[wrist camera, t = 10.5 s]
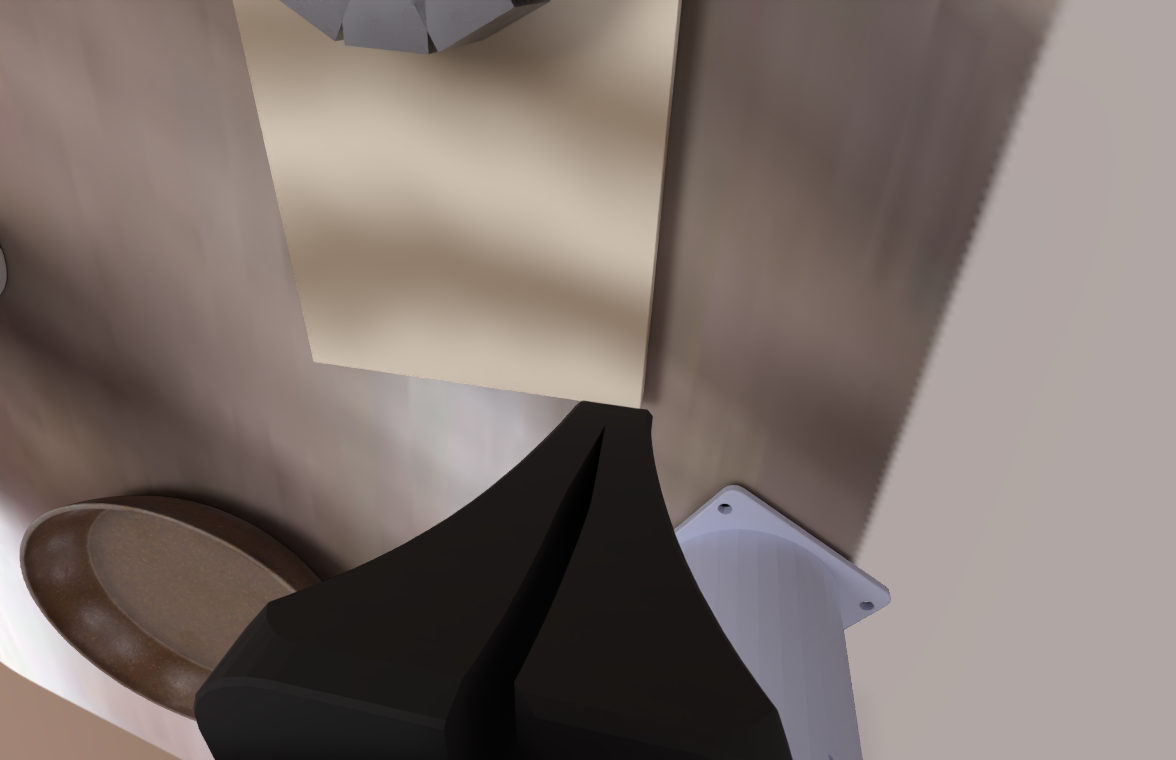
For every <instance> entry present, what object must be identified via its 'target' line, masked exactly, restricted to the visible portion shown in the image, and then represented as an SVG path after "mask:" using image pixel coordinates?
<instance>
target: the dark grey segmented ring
mask: <svg viewBox="0 0 1176 760" xmlns="http://www.w3.org/2000/svg"><path fill="white" fill-rule="evenodd" d="M279 1H281V2H282V3H284V4H285V5H286V6H288V7H289V8H290V9H292V10H293V11H294V12H296V13H297V14H298V15H300V16H301V17H303V18H304V19H305V20H307V21H308V22H309V23H311V24H312V25H313V26H315V27H316V28H317V29H319V30H320V31H321V32H323V33H324V34H326V35H327V36H328V37H330V38H331V39H332V40H334V41H340V40H344V43H345V46H354V47H364V48H373V49H382V50H392V51H401V52H410V53H420V54H432V53H436V52H441V51H445V50H449V49H453V48H456V47H460V46H464V45H467V44H471V43H475V42H478V41H482V40H485V39H487V38H488V37H490V36H492V35H493V34H495V33H497V32H499V31H500V30H502V29H504V28H505V27H507V26H509V25H511V24H512V23H514V22H516V21H518V20H519V19H521V18H523V17H524V16H526V15H528V14H530V13H531V12H533V11H535V10H536V9H538V8H540V7H542V6H543V5H545V4H547V3H549V2H550V0H279Z"/></svg>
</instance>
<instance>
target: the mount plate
mask: <svg viewBox="0 0 1176 760" xmlns="http://www.w3.org/2000/svg"><path fill="white" fill-rule="evenodd" d="M233 4H234V9H235V13H236V18H237V22H238V27H239V31H240V35H241V40H242V44H243V49H244V53H245V58H246V62H247V67H248V71H249V76H250V80H251V84H252V89H253V93H254V98H255V102H256V107H257V111H258V116H259V120H260V125H261V129H262V133H263V138H264V142H265V147H266V151H267V156H268V160H269V165H270V169H271V174H272V178H273V182H274V187H275V191H276V196H277V200H278V205H279V209H280V214H281V218H282V223H283V227H284V231H285V236H286V240H287V245H288V249H289V254H290V258H291V263H292V267H293V272H294V276H295V281H296V285H297V289H298V294H299V298H300V303H301V307H302V312H303V316H304V321H305V325H306V330H307V334H308V338H309V343H310V347H311V352H312V356H313V361H314V362H319V363H326V364H333V365H339V366H346V367H353V368H360V369H367V370H374V371H380V372H387V373H394V374H401V375H408V376H415V377H421V378H428V379H435V380H442V381H449V382H455V383H462V384H469V385H476V386H483V387H490V388H496V389H503V390H510V391H517V392H524V393H531V394H537V395H544V396H551V397H558V398H565V399H572V400H578V401H583V400H584V401H591V402H597V403H604V404H611V405H618V406H625V407H632V408H638V409H640V406H641V402H642V398H643V394H644V385H645V375H646V364H647V354H648V344H649V333H650V323H651V313H652V303H653V292H654V282H655V272H656V261H657V251H658V241H659V231H660V220H661V210H662V200H663V189H664V179H665V169H666V159H667V148H668V138H669V128H670V117H671V107H672V97H673V87H674V76H675V66H676V56H677V45H678V35H679V25H680V15H681V4H682V0H550V2H549V3H547V4H545V5H543V6H542V7H540V8H538V9H536V10H535V11H533V12H531V13H530V14H528V15H526V16H524V17H523V18H521V19H519V20H518V21H516V22H514V23H512V24H511V25H509V26H507V27H505V28H504V29H502V30H500V31H499V32H497V33H495V34H493V35H492V36H490V37H488V38H487V39H485V40H482V41H478V42H475V43H471V44H467V45H464V46H460V47H456V48H453V49H449V50H445V51H441V52H436V53H432V54H420V53H410V52H401V51H392V50H382V49H373V48H364V47H354V46H345V43H344V40H340V41H334V40H332V39H331V38H330V37H328V36H327V35H326V34H324V33H323V32H321V31H320V30H319V29H317V28H316V27H315V26H313V25H312V24H311V23H309V22H308V21H307V20H305V19H304V18H303V17H301V16H300V15H298V14H297V13H296V12H294V11H293V10H292V9H290V8H289V7H288V6H286V5H285V4H284V3H282V2H281V1H279V0H233Z"/></svg>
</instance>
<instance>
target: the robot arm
mask: <svg viewBox="0 0 1176 760" xmlns="http://www.w3.org/2000/svg"><path fill="white" fill-rule="evenodd" d="M652 419H653V416H652V415H651V413H650V412H649V411H648V410H645V409H638V408H632V407H625V406H618V405H611V404H604V403H597V402H591V401H584V400H583V401H581V402H580V403H578V404H577V405H576V406H575V407H574V408H573V409H572V411H571V412H570V413H569V414H568V415H567V416H566V417H565V418H564V419H563V420H562V422H561V423H560V424H559V425H558V426H557V427H556V428H555V429H554V430H553V431H552V432H551V433H550V434H549V435H548V436H547V437H546V438H545V439H544V440H543V441H542V442H541V443H540V444H539V445H538V446H537V447H536V448H535V449H534V450H533V451H532V452H530V453H529V454H528V455H527V456H526V457H525V458H524V459H523V460H522V461H521V462H520V463H519V464H518V465H516V466H515V467H514V468H513V469H512V470H510V471H509V472H508V473H507V474H506V475H504V476H503V477H502V478H501V479H500V480H498V481H497V482H496V483H495V484H494V485H492V486H491V487H490V488H489V489H487V490H486V491H485V492H484V493H482V494H481V495H480V496H478V497H477V498H476V499H474V500H473V501H472V502H470V503H469V504H467V505H466V506H464V507H463V508H462V509H460V510H459V511H457V512H456V513H454V514H453V515H451V516H450V517H448V518H447V519H445V520H444V521H442V522H440V523H439V524H437V525H436V526H434V527H432V528H431V529H429V530H427V531H426V532H424V533H422V534H420V535H419V536H417V537H415V538H413V539H412V540H410V541H408V542H407V543H405V544H403V545H401V546H399V547H397V548H395V549H393V550H391V551H389V552H387V553H385V554H383V555H381V556H379V557H377V558H375V559H373V560H371V561H369V562H367V563H365V564H362V565H360V566H358V567H356V568H354V569H352V570H349V571H347V572H345V573H342V574H340V575H338V576H335V577H333V578H331V579H328V580H325V581H323V582H320V583H318V584H315V585H312V586H310V587H307V588H305V589H302V590H299V591H297V592H294V593H292V594H289V595H286V596H284V597H281V598H278V599H275V600H272V601H270V602H268V603H267V604H266V606H265V607H264V608H263V609H262V610H261V611H260V612H259V614H258V615H257V616H256V617H255V618H254V619H253V620H252V621H251V622H250V623H249V625H248V626H247V627H246V628H245V629H244V631H243V632H242V633H241V635H240V636H239V637H238V638H237V640H236V641H235V642H234V644H233V645H232V646H231V648H230V649H229V650H228V652H227V653H226V654H225V656H224V657H223V658H222V660H221V661H220V662H219V664H218V665H217V666H216V668H215V669H214V670H213V672H212V673H211V674H210V676H209V677H208V678H207V679H206V681H205V682H204V683H203V685H202V686H201V687H200V689H199V690H198V691H197V693H196V694H195V700H194V707H193V708H194V714H195V718H196V721H197V724H198V727H199V730H200V732H201V734H202V736H203V738H204V739H205V741H206V743H207V745H208V747H209V749H210V751H211V753H212V755H213V757H214V759H215V760H863V759H862V753H861V746H860V739H859V732H858V725H857V718H856V711H855V704H854V698H853V690H852V684H851V677H850V670H849V663H848V656H847V649H846V642H845V636H844V630H845V629H846V628H848V627H850V626H852V625H853V624H855V623H857V622H859V621H860V620H862V619H863V618H866V617H867V616H869V615H871V614H872V613H874V612H876V611H878V610H879V609H881V608H883V607H885V606H886V605H888V604H889V603H890V600H891V598H890V593H889V590H888V588H887V587H886V586H884V585H883V584H881V583H880V582H878V581H877V580H875V579H874V578H872V577H871V576H870V575H868V574H867V573H865V572H864V571H863V570H861V569H859V568H858V567H857V566H855V565H854V564H852V563H851V562H850V561H848V560H847V559H845V558H844V557H842V556H841V555H839V554H838V553H837V552H835V551H834V550H832V549H831V548H829V547H828V546H827V545H825V544H824V543H822V542H821V541H819V540H818V539H816V538H815V537H814V536H812V535H811V534H809V533H808V532H806V531H805V530H803V529H802V528H801V527H799V526H798V525H796V524H795V523H793V522H792V521H790V520H789V519H788V518H786V517H785V516H783V515H782V514H780V513H779V512H778V511H776V510H775V509H773V508H772V507H770V506H769V505H767V504H766V503H765V502H763V501H762V500H760V499H759V498H757V497H756V496H754V495H753V494H752V493H750V492H749V491H747V490H746V489H744V488H743V487H741V486H738V485H729V486H726V487H725V488H723V489H722V490H721V491H720V492H718V493H717V494H716V495H715V496H714V497H712V498H711V499H710V500H709V501H708V502H706V503H705V504H704V505H703V506H702V507H700V508H699V509H698V510H697V511H696V512H694V513H693V514H692V515H691V516H690V517H688V518H687V519H686V520H685V521H684V522H682V523H681V524H680V525H679V526H678V527H676V528H675V529H673V526H672V524H671V521H670V518H669V515H668V511H667V508H666V505H665V502H664V499H663V495H662V492H661V488H660V483H659V479H658V475H657V471H656V467H655V461H654V456H653V448H652V439H651V428H652ZM721 504H728V505H730V506H729V507H723V506H720V505H721ZM864 601H869V602H864Z"/></svg>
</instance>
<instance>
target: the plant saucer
mask: <svg viewBox="0 0 1176 760" xmlns="http://www.w3.org/2000/svg"><path fill="white" fill-rule="evenodd" d="M20 567H21V570H22V575H23V579H24V581H25V583H26V586H27V588H28V590H29V592H30V595H31V596H32V598H33V600H34V601H35V603H36V605H37V606H38V607H39V608H40V610H41V612H42V613H43V614H44V616H45V617H46V618H47V620H48V621H49V622H50V623H51V624H52V626H53V627H54V628H55V629H56V630H57V631H58V633H59V634H60V635H61V636H62V637H63V638H64V639H65V640H66V641H67V642H68V643H69V644H70V645H71V646H72V647H74V648H75V649H76V650H77V651H78V652H79V653H80V654H81V655H83V656H84V657H85V658H86V659H87V660H89V661H90V662H91V663H92V664H93V665H95V666H96V667H97V668H99V669H100V670H101V671H103V672H104V673H105V674H107V675H108V676H110V677H111V678H113V679H114V680H116V681H117V682H118V683H120V684H121V685H123V686H124V687H126V688H128V689H130V690H132V691H133V692H135V693H136V694H138V695H140V696H142V697H144V698H145V699H147V700H149V701H151V702H153V703H155V704H157V705H159V706H161V707H163V708H166V709H168V710H170V711H172V712H175V713H177V714H179V715H182V716H184V717H187V718H189V719H192V720H194V721H196V718H195V714H194V708H193V707H194V700H195V694H196V693H197V691H198V690H199V689H200V687H201V686H202V685H203V683H204V682H205V681H206V679H207V678H208V677H209V676H210V674H211V673H212V672H213V670H214V669H215V668H216V666H217V665H218V664H219V662H220V661H221V660H222V658H223V657H224V656H225V654H226V653H227V652H228V650H229V649H230V648H231V646H232V645H233V644H234V642H235V641H236V640H237V638H238V637H239V636H240V635H241V633H242V632H243V631H244V629H245V628H246V627H247V626H248V625H249V623H250V622H251V621H252V620H253V619H254V618H255V617H256V616H257V615H258V614H259V612H260V611H261V610H262V609H263V608H264V607H265V606H266V604H267V603H268V602H270V601H272V600H275V599H278V598H281V597H284V596H286V595H289V594H292V593H294V592H297V591H299V590H302V589H305V588H307V587H310V586H312V585H315V584H318V583H320V582H321V580H320V579H319V578H318V577H317V576H316V575H315V574H314V573H313V571H312V570H311V569H310V568H309V567H308V566H307V565H306V564H305V563H304V562H303V561H302V560H301V559H300V558H298V557H297V556H296V555H295V554H294V553H293V552H292V551H290V550H289V549H288V548H286V547H285V546H284V545H283V544H281V543H280V542H278V541H277V540H276V539H274V538H273V537H271V536H270V535H268V534H267V533H265V532H264V531H262V530H260V529H258V528H257V527H255V526H253V525H252V524H250V523H248V522H246V521H244V520H242V519H240V518H238V517H236V516H233V515H231V514H229V513H227V512H224V511H222V510H219V509H216V508H213V507H210V506H207V505H204V504H200V503H197V502H193V501H188V500H184V499H179V498H172V497H163V496H117V497H107V498H100V499H93V500H87V501H83V502H78V503H74V504H71V505H67V506H64V507H60V508H57V509H54V510H51V511H49V512H47V513H45V514H43V515H42V516H40V517H39V518H37V519H36V520H35V521H34V522H33V523H32V524H31V525H30V526H29V527H28V529H27V530H26V532H25V534H24V536H23V539H22V542H21V546H20Z"/></svg>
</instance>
